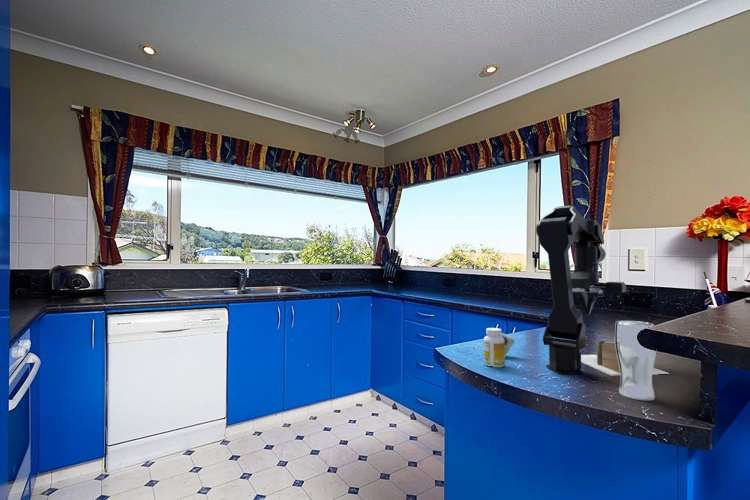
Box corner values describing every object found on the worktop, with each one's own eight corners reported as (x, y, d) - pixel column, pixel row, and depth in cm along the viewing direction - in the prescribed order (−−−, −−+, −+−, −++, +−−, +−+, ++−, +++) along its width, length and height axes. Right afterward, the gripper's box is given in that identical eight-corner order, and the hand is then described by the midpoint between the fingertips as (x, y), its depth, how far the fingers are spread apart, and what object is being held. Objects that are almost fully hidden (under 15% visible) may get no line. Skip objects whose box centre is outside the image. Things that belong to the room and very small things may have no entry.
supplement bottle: (506, 364, 96) (506, 328, 97) (502, 369, 92) (501, 331, 92) (487, 361, 99) (486, 326, 100) (481, 365, 95) (481, 329, 95)
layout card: (612, 375, 86) (612, 373, 86) (568, 356, 104) (568, 354, 104) (668, 374, 87) (668, 372, 87) (615, 355, 105) (615, 354, 105)
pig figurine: (514, 354, 106) (514, 332, 107) (518, 358, 102) (517, 334, 103) (487, 353, 107) (486, 331, 108) (489, 357, 103) (489, 334, 104)
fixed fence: (627, 378, 84) (626, 350, 84) (595, 365, 95) (595, 340, 95) (634, 378, 84) (633, 350, 84) (602, 365, 95) (601, 340, 95)
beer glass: (608, 389, 77) (606, 320, 77) (638, 388, 77) (635, 320, 78) (634, 402, 70) (632, 326, 70) (667, 401, 70) (664, 325, 71)
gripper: (543, 263, 107) (545, 314, 107) (616, 263, 94) (618, 321, 93) (557, 263, 115) (558, 311, 114) (625, 263, 102) (627, 317, 101)
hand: (587, 314), depth 106 cm, fingers closed
